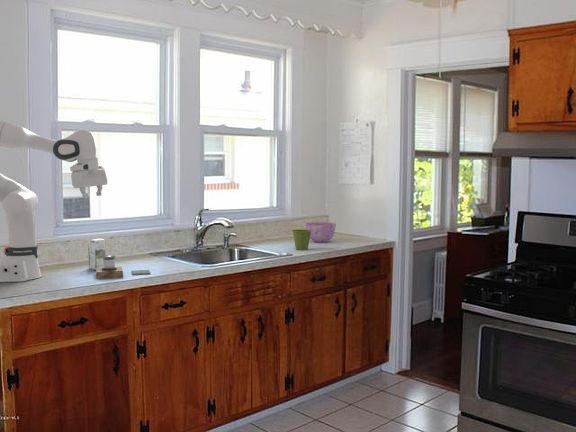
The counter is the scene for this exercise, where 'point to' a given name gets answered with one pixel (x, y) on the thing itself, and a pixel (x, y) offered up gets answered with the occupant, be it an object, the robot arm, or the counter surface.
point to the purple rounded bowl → (321, 231)
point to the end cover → (108, 262)
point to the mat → (140, 272)
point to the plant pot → (301, 238)
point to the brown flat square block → (109, 273)
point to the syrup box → (96, 252)
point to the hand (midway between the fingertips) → (92, 196)
